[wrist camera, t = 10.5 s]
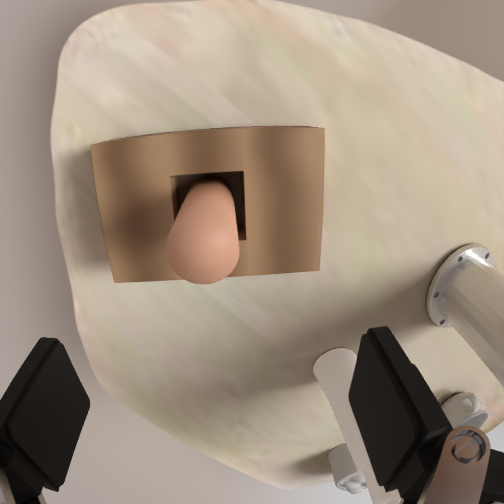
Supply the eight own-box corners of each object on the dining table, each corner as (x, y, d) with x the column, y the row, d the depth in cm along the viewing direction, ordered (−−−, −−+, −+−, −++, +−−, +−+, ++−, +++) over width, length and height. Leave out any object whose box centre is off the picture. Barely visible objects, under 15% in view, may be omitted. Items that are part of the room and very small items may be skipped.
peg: (232, 173, 27) (237, 213, 16) (234, 216, 29) (241, 282, 18) (186, 176, 27) (160, 218, 16) (190, 219, 28) (170, 285, 18)
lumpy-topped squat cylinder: (363, 463, 54) (373, 493, 46) (316, 462, 51) (324, 498, 43) (394, 437, 51) (408, 469, 43) (347, 435, 48) (360, 473, 40)
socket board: (307, 126, 27) (324, 128, 22) (305, 247, 32) (319, 270, 27) (111, 139, 26) (90, 145, 21) (128, 258, 31) (114, 282, 26)
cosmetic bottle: (362, 364, 40) (425, 499, 20) (324, 385, 41) (370, 525, 21) (345, 339, 37) (416, 492, 17) (304, 363, 38) (351, 521, 18)
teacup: (459, 411, 51) (474, 436, 44) (421, 426, 51) (436, 454, 44) (484, 368, 46) (504, 394, 38) (445, 382, 45) (465, 413, 38)
